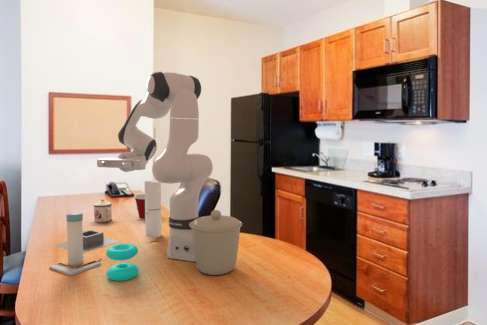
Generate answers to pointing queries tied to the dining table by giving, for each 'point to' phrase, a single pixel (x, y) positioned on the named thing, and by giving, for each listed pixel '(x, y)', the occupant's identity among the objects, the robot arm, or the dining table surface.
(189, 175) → the robot arm
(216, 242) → the canister
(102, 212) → the teacup with lid
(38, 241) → the dining table surface
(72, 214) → the cylinder
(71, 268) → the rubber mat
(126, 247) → the donuts
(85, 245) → the grey square peg base
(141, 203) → the plastic cup
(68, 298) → the dining table surface
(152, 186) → the cylindrical container
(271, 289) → the dining table surface
